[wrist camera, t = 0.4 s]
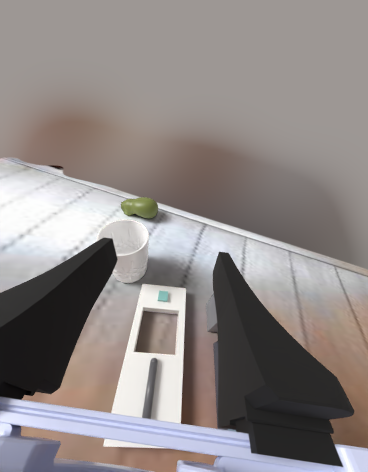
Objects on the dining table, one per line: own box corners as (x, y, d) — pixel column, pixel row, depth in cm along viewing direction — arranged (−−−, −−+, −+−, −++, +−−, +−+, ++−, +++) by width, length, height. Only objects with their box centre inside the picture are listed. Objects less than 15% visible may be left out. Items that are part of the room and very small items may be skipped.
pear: (152, 207, 38) (114, 203, 40) (155, 223, 42) (121, 219, 44) (159, 195, 42) (124, 192, 44) (161, 211, 46) (129, 208, 47)
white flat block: (177, 443, 18) (181, 451, 16) (107, 441, 18) (100, 449, 16) (184, 292, 31) (186, 286, 29) (143, 288, 30) (142, 281, 28)
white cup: (151, 253, 36) (150, 220, 29) (147, 286, 31) (146, 256, 23) (114, 252, 35) (104, 217, 27) (104, 286, 29) (88, 254, 22)
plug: (233, 333, 27) (251, 322, 22) (207, 331, 27) (220, 319, 22) (229, 306, 30) (244, 291, 25) (206, 304, 30) (217, 288, 25)
